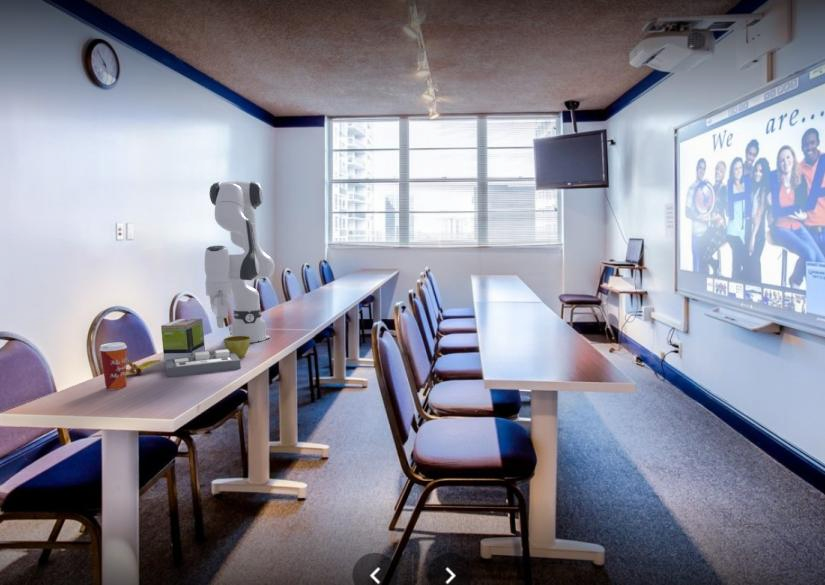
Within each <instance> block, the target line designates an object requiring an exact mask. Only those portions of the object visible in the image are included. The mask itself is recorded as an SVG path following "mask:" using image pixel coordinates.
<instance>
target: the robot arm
mask: <svg viewBox="0 0 825 585" xmlns="http://www.w3.org/2000/svg"><path fill="white" fill-rule="evenodd" d="M264 195H265V194H264V189H263V187H262V185H261V184H260V182H256V181H245V180H235V181H224V182H221V181H219V182H215V183H213V184H211V185H210V188H209V198H210V199H209V200H210V202H211V204H212V205H213V206H214V220H215V222H216V224H217V225H218V226H220V227H221V228H222V229H224V230H226V231H227V232H229V233H230V241H231V242H232V244H233V245H235V246H236V247H238V248H241V249H242V250H243V253H241V254H229V250H228V247H227V246H225V245H211V246H208V247H206V249H205V253H204V273H205V275H206V276H205V283H204V284H205V295H206V296H208V297H209V302H210V309H211V312H212V313H213V314H214V315H215V316H216V324H217V327H218V329H223V328H224V320H225V319H227V318H229V305H228V304H229V303H228V300H229V296H230V295H232V296H233V297H232V298H233V306H234V310H233V318H234V319H233V321H231V324H230V325H229V326H228V331H229V335H228V337H234V336H248V337H250V343H258V341H259V342H262V341H266V340H269V339H270V338H271V337H270V335H268V334H267V332H266V331H267V330H266V320H264V319H263V318H262V309H261V304H260V303H261V302H260V300H261V299H260V293H259V291H258V290H257V289H256V288H254V287H253V286H250V285H248V284H247V282H246V281H253V280H262V279H265V278H270V277H272V276H273V274H274V272H275V267H276V265H275V261H274V259H273V258H272V257H271V256H269V255H268V253H266V252H265V251H264V250H263V249H262V247H261V246H260V244H259V240H258V235H257V224H256V223H257V222H256V214H255V210H257V207H260V206H261V204H262V203H263V202H264V201H263V200H264V197H265V196H264ZM268 338H269V339H268Z"/></svg>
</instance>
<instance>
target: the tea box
mask: <svg viewBox="0 0 825 585" xmlns="http://www.w3.org/2000/svg"><path fill="white" fill-rule="evenodd" d="M160 326H161V328H160V329H161V342H162V351H163V352H162V353H163V361H164V363H165V362H166V360H169V359H178V358H187V357H195V353H196V352H206V346H205V332H204V322H203V318H178V319H175V320H173V321H170V322H167V323H164V324H162V325H160Z"/></svg>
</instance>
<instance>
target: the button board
mask: <svg viewBox="0 0 825 585" xmlns="http://www.w3.org/2000/svg"><path fill="white" fill-rule="evenodd" d="M209 356H210V359H208V360H199V361H195V357H187V358H188V359H189V362H181V363H175V362H174V359H169V360H166V363H165V364H166V373H167V375H168V376H172V377H178V376H177V375H180V376H187V375H186V374H188V375H194V373H197V374H203V373H202V372H205V373H211V372H210V371H213V372H221V371H220V370H222V371H228V370H227V369H230V370H235V369H234V368H238V369H241V368H242V364H241V358H240V357H238V356H237V355H236V353H235V352H234V353H230V357H226V358H217V359H216V358H215V354H209ZM178 359H182V358H178ZM168 376H167V377H168Z"/></svg>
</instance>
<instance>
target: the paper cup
mask: <svg viewBox="0 0 825 585" xmlns="http://www.w3.org/2000/svg"><path fill="white" fill-rule="evenodd" d="M127 348H128V346H127V345H126V343H125V342H121V341H118V342H108V343H103V344H101V345H100V348H99V350H98V351H100V357H101V362H102V370H103V376H104V383H105V387H106V390H107V389H117V390H120V389H119V388H122V389H124V388H123V387H125V386H126V387H127V374H126V369H127V361H126V358H127ZM126 387H125V388H126Z"/></svg>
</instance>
